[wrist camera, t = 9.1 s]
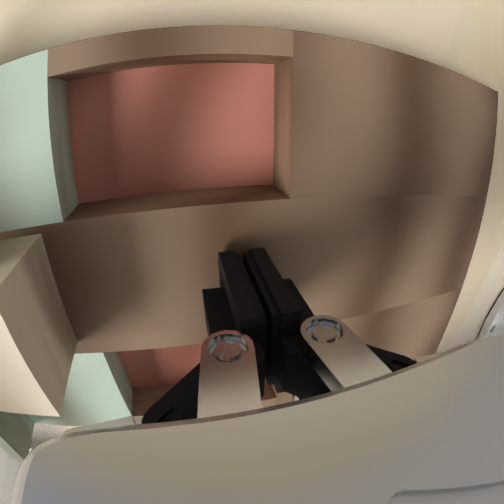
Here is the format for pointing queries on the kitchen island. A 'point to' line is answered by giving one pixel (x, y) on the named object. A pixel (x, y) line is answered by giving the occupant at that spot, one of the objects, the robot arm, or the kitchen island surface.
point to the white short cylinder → (7, 476)
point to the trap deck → (236, 193)
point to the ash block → (32, 331)
